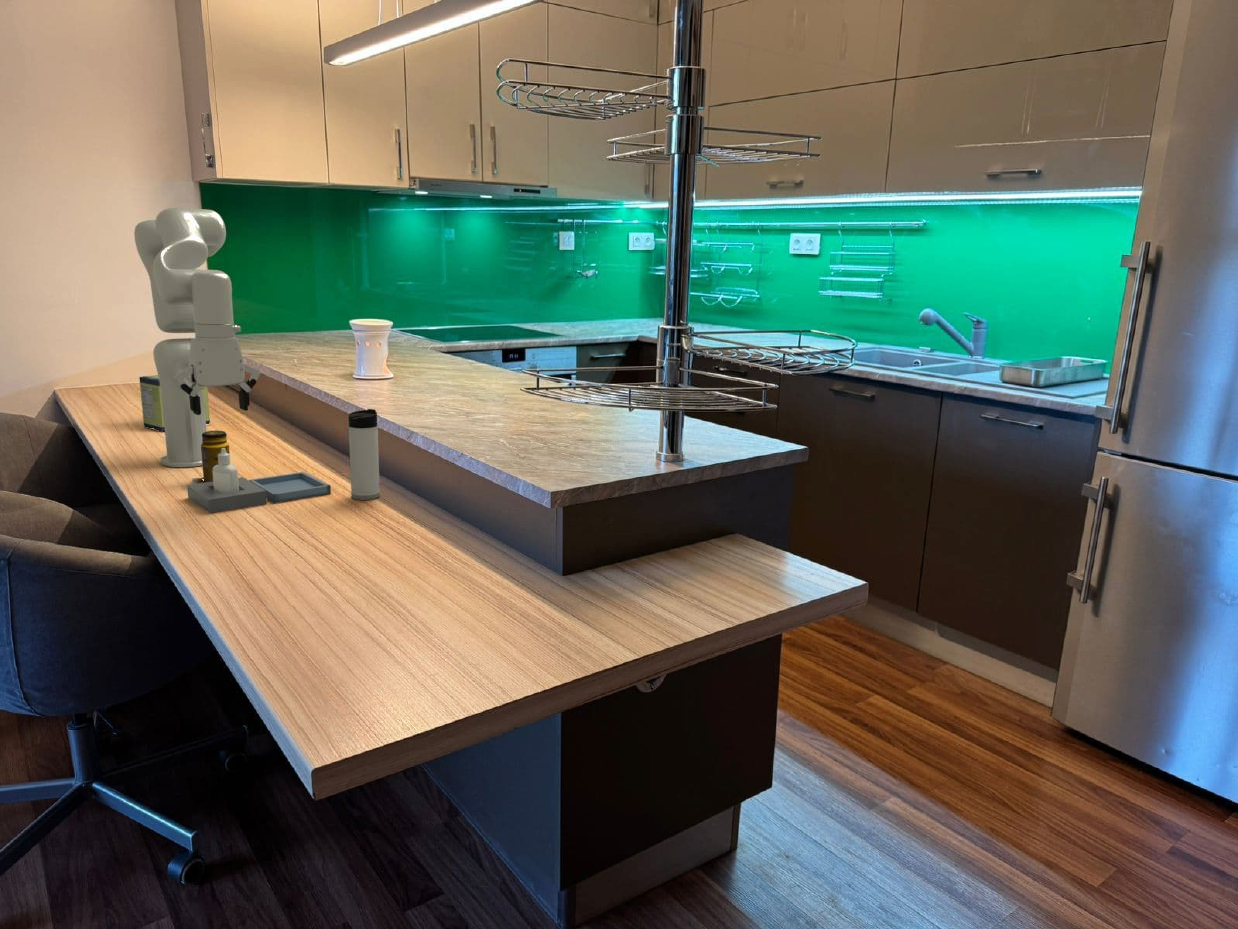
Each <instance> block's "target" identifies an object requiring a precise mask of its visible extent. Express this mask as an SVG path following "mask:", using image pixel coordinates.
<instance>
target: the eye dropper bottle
mask: <svg viewBox="0 0 1238 929" xmlns="http://www.w3.org/2000/svg"><path fill="white" fill-rule="evenodd" d="M238 478H239V473H238V469H237V467H235V466H234V465H233V464H231V454H228V453H227V452H226V450H225V448H222V449H221V453H220V454H218V465H216V466H214V467H213V484H214V491H216V492H217V493H219V494H221V493H228V492H234V491H239V483H238Z"/></svg>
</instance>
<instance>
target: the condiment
mask: <svg viewBox="0 0 1238 929" xmlns="http://www.w3.org/2000/svg"><path fill="white" fill-rule="evenodd" d="M227 435H228V434H227V432H226V431H225V430H224V431H223V430H216V429H215V430H208V431H207V430H206V432H204V433H202V438H203V439H202V442H203V443H202V445H201V453H202V465H201V466H202V473H203V474H202V475H203V477H194V478H191V480H192V482H193V484H194V483H195V484H198V483H205V482H212V481H213V467H214V466H216V465H218V454H220V453H221V449H222V448H225V450H226V452H227V453H228V454H230V444H229V442H228V438H227ZM230 455H231V454H230ZM202 479H204V481H203V480H202Z"/></svg>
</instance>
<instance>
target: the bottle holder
mask: <svg viewBox="0 0 1238 929" xmlns="http://www.w3.org/2000/svg"><path fill="white" fill-rule="evenodd" d="M238 483H239V491H234V492H228V493H221V494H219V493H217V492H216V491H214V484H213V481H212V482H205V483H198V484H194V483H193V484H187V485H186V487H187V488H186V489H187V499H189V500H190V501H191V500H192V501H191V502H193V503H194V504H196V505H197V506H198V507H200V508H202V509H203V510H204V511H205V512H207V513H208V514H215V513H222V512H226V511H233V510H238V509H244V507H245V508H250V507H257V506H263V505H267V504H268V503H267V502H268V499H267V498H266V491H265V490H264V489H262V488H260V487H259V486H257V485H255V484H253V483H252V482H250V481H249V479H247V478H245V477H243V476H241V477H238Z"/></svg>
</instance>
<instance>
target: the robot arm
mask: <svg viewBox="0 0 1238 929" xmlns="http://www.w3.org/2000/svg"><path fill="white" fill-rule="evenodd" d="M133 235H134V242H135V247H136V250H137V253H138V256H139V258H140V260H141V262H142V264H143V266H144V267H145V270H146V272H147V274H148V277H149V281H150V282H149V283H150V289H151V296H152V297H151V298H152V304H153V310H154V311H153V312H154V318H155V322H156V325H157V327H158V329H159V330H160V331H161V332H164V333H168V334H194V335H195V336H194V337H195V338H194V337H187V338H186V337H184V338H182V337H181V338H169V339H164V340H161V341H159V342H157V343H156V344H155V346H154V348H153V352H152V353H153V361H154V364H155V368H156V372H157V375H158V377H159V381H160V388H161V396H162V407H163V417H164V428H165V432H164V436H165V446H166V447H165V448H166V455H165V456H162V457H161V458H160V464H161V465H162V466H165V467H169V468H190V467H191V468H192V467H193V468H194V467H200V466H203V465H202V453H201V445H202V443H203V442H202V439H203V438H202V433H204V432H206V431H207V426H206V419H205V406H204V396H203V393H202V391H201V389H202V387H207V388H209V387H210V388H211V387H222V386H223V387H224V386H225V387H226V386H237V387H238V388H239V389H240V390H238V404H239V409H240V410H242V411H247V412H248V411H249V407H250V405H251V404H250V392H251V390H252V389H253V388H254V386H255V385H256V384H257V381H258V379H259V377H260V374H261V371H260V370H258V369H256V368H253V367H251V366H249V365H247V364H244V358H243V354H242V353H243V352H242V349H241V346H240V345H241V344H240V341H239V338H238V337H236V336H237V335H236V334H237V333H241V332H242V327H241V325H237V324H236V323H234V322H235V321H234V310H233V296H232V295H233V286H232V281H231V278H230V276H229V275H228V274H227V273H225V272H224V271H223V270H222V271H221V270H219V269H218V270H217V269H200V267H201V266H203V265H204V264H205V262H206V261H207V259H208V257H209V258H210V257H212V256H214V255H215V254H216V253H217V252H218V251H219V250H220V249H221V248H222V247H223V245H224V244H225V242H226V237H227V230H226V224H225V222H224V220H223V218H222V216H221V215H220V214H219V213H218V212H216V211H214V210H212V209H206V208H205V209H203V208H189V207H188V208H187V207H185V208H184V207H169V208H168V207H167V208H166V209H163V210H161V211H160V212H159V213H158V214H157V215H156V218H155V219H149V220H144V221H141V222H139V223H137V225H135V228H134V234H133ZM245 372H247V373H249V374H250V378H249V379H248V380H246V374H245ZM245 380H246V382H245Z"/></svg>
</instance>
